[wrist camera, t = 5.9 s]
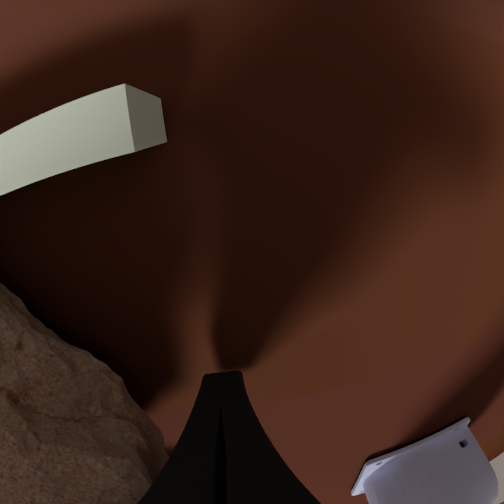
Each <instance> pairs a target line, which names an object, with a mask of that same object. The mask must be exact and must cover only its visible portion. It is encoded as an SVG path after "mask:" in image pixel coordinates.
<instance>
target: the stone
mask: <svg viewBox="0 0 504 504" xmlns="http://www.w3.org/2000/svg"><path fill="white" fill-rule="evenodd" d="M168 459H169V456H168V454H167V453H166V451H165V446H164V437H163V435H162V432H161V430H160V429H159V428H158V427H157V426H156V425H155V423H154V422H153V421H152V420H151V419H150V418H149V417H148V416H147V414H146V413H145V412H144V411H143V410H142V409H141V407H140V406H139V405H138V404H137V403H136V402H135V401H134V400H133V399H132V397H131V396H130V394H129V393H128V391H127V389H126V387H125V384H124V381H123V379H122V378H121V376H119V375H118V374H116V373H115V372H114V371H112V370H111V369H110V368H109V366H108V365H107V364H105V363H104V362H102V361H99V360H97V359H96V358H95V357H93V356H92V355H91V354H90V353H89V352H88V351H85V350H83V349H80V348H77V347H75V346H72V345H69V344H68V343H66V342H65V341H63V340H62V339H61V338H60V337H59V336H57V335H56V334H55V333H54V332H53V331H52V330H51V329H48V328H46V326H45V325H44V324H43V323H42V322H41V321H40V320H38V319H36V318H35V317H33V315H32V314H31V313H30V312H29V311H28V310H27V309H26V307H25V305H24V303H23V302H22V300H21V299H20V298H19V297H18V296H16V295H14V294H13V293H12V292H10V291H9V290H8V289H7V288H6V287H5V286H4V285H3V284H1V283H0V504H137V503H138V502H139V501H140V499H141V498H142V497H143V496H144V494H145V493H146V492H147V491H148V489H149V488H150V486H151V485H152V484H153V482H154V481H155V479H156V478H157V477H158V475H159V474H160V472H161V471H162V469H163V467H164V466H165V464H166V463H167V461H168Z"/></svg>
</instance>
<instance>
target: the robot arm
mask: <svg viewBox="0 0 504 504" xmlns="http://www.w3.org/2000/svg"><path fill="white" fill-rule="evenodd" d="M469 422H470V419H469V417H466V418H464V419H463V420H461V421H459V422H457V423H455V424H453V425H451V426H449V427H448V428H446V429H444V430H442V431H440V432H437V433H435V434H433V435H431V436H429V437H427V438H425V439H422V440H420V441H418V442H416V443H413V444H411V445H408V446H406V447H404V448H401V449H399V450H396V451H393V452H391V453H388V454H385V455H383V456H380V457H377V458H374V459H371V460H369V461H367V462H366V463H365V464H364V466H363V469H362V471H361V473H360V475H359V477H358V479H357V481H356V483H355V485H354V487H353V489H352V491H351V494H352V496H354V495H358V494H361V493H364V492H365V494H366V497H367V500H368V503H369V504H493V503H494V501H495V500H496V497H497V494H498V482H497V478H496V474H495V472H494V470H493V468H492V467H491V465H490V463H489V461H488V459H487V458H486V456H485V454H484V452H483V451H482V449H481V447H480V446H479V444H478V442H477V441H476V439H475V437H474V436H473V434H472V433H471V431H470V429H469V428H468V426H467V425H468V424H469ZM137 504H321V503H320V502H319V501H318V500H317V499H316V498H315V497H314V496H313V495H312V494H311V493H310V492H309V491H308V489H307V488H306V487H305V486H304V485H303V484H302V483H301V482H300V481H299V480H298V478H297V477H296V476H295V475H294V473H293V472H292V471H291V470H290V468H289V467H288V466H287V465H286V463H285V462H284V460H283V459H282V458H281V456H280V455H279V453H278V452H277V451H276V449H275V448H274V446H273V444H272V443H271V441H270V440H269V438H268V436H267V435H266V433H265V431H264V430H263V428H262V426H261V424H260V422H259V420H258V418H257V416H256V414H255V412H254V410H253V408H252V406H251V403H250V401H249V398H248V396H247V393H246V389H245V384H244V380H243V375H242V372H240V371H238V370H236V371H228V372H220V373H211V374H205V375H204V376H203V379H202V383H201V387H200V390H199V393H198V396H197V399H196V401H195V404H194V407H193V409H192V412H191V414H190V416H189V419H188V421H187V424H186V426H185V428H184V430H183V432H182V434H181V436H180V438H179V440H178V442H177V444H176V446H175V448H174V450H173V452H172V454H171V456H170V457H169V459H168V461H167V463H166V464H165V466H164V467H163V469H162V471H161V472H160V474H159V475H158V477H157V478H156V479H155V481H154V482H153V484H152V485H151V486H150V488H149V489H148V491H147V492H146V493H145V494H144V496H143V497H142V498H141V499H140V501H139V502H138V503H137ZM500 504H504V502H502V503H500Z"/></svg>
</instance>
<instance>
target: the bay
mask: <svg viewBox="0 0 504 504" xmlns="http://www.w3.org/2000/svg"><path fill="white" fill-rule="evenodd" d="M166 142H167V138H166V131H165V125H164V118H163V112H162V105H161V98H158V97H156V96H154V95H151V94H149V93H147V92H144V91H142V90H139V89H137V88H135V87H132V86H130V85H127V84H121V85H118V86H115V87H111V88H108V89H105V90H102V91H99V92H96V93H93V94H90V95H88V96H85V97H82V98H79V99H77V100H74V101H71V102H69V103H66V104H64V105H61V106H59V107H57V108H54V109H52V110H50V111H47V112H45V113H43V114H41V115H38V116H36V117H34V118H32V119H30V120H28V121H26V122H24V123H22V124H20V125H18V126H16V127H14V128H12V129H10V130H8V131H6V132H4V133H3V134H1V135H0V196H1V195H3V194H6V193H8V192H11V191H13V190H16V189H18V188H21V187H23V186H26V185H29V184H31V183H34V182H37V181H39V180H42V179H45V178H48V177H51V176H54V175H57V174H60V173H63V172H66V171H69V170H72V169H75V168H78V167H82V166H85V165H88V164H92V163H95V162H99V161H102V160H106V159H109V158H113V157H117V156H121V155H125V154H129V153H133V152H136V151H139V150H143V149H146V148H149V147H152V146H156V145H159V144H162V143H166Z"/></svg>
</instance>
